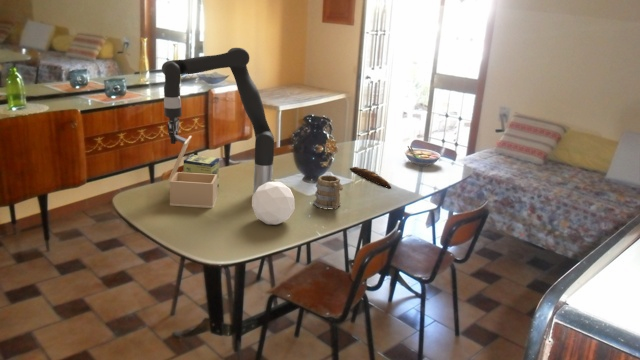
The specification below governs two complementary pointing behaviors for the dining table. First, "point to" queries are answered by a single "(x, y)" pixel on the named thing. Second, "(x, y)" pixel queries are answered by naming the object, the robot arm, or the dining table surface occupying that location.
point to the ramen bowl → (422, 156)
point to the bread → (370, 176)
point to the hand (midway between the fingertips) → (174, 142)
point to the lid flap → (185, 142)
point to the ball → (273, 203)
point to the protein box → (202, 165)
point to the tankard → (328, 192)
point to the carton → (193, 189)
